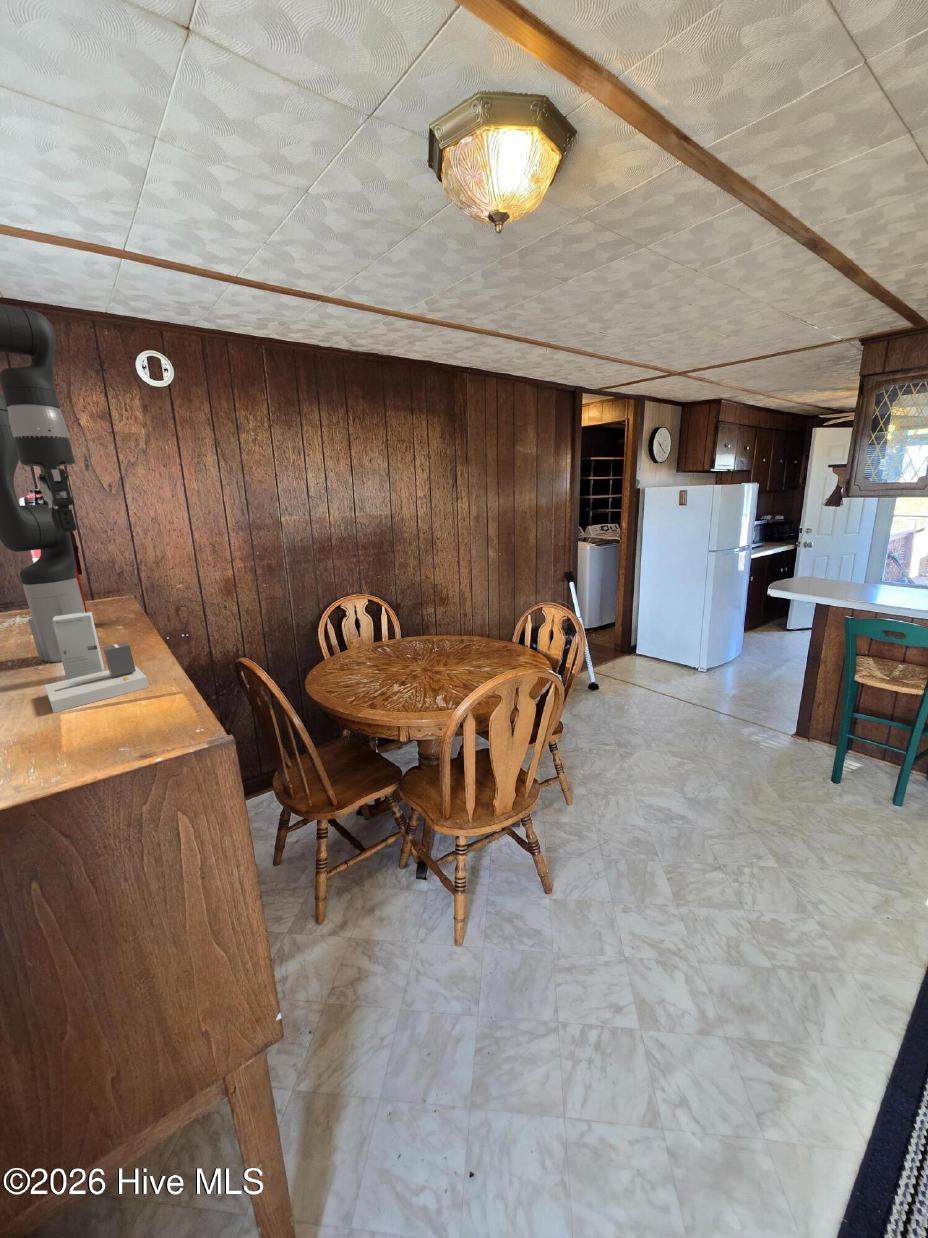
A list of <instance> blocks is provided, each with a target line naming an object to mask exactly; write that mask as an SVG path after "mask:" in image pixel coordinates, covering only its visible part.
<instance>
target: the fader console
mask: <svg viewBox="0 0 928 1238" xmlns="http://www.w3.org/2000/svg"><path fill="white" fill-rule="evenodd" d="M134 666H135V670H136V671H135V672H131V673H127V674H123V675H119V676H115V677H112V676H111V674H110V673H109V669H107V670H103V671H102V672H98V673H94V674H89V675H85V676H81V677H77V678H73V679H68V680H67V679H65V680H61V681H57V682H52V683H49V684H44V687H45V692H46V694H47V699H48V701H49V704H50V707H51V709H52V713H53V714H54V713H58V712H62V711H65V710H70V709H74V708H77V707H78V708H79V707H80V706H85V705H88V704H91V703H96V702H100V701H102V700H106V699H107V700H108V699H111V698H115V697H119V696H121V695H124V694H128V693H133V692H137V691H140V690H144V689H148V688H150V685H149V682H148V681H149V680H148V676H146V675H145V674H144V673H143V671H141V669H140V668H138V666H137V665H136V664H134Z"/></svg>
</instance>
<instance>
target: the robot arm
mask: <svg viewBox="0 0 928 1238" xmlns="http://www.w3.org/2000/svg"><path fill="white" fill-rule="evenodd" d="M55 351H56V332H55V329H54V327H53V325H52V324H51V322H50V321H49V319H47V317H46V316H44V314H42V313H41V312H38V311H37V310H32V309H30V308H29V309H28V308H23V307H18V306H12V305H7V304H2V303H0V353H7V354H14V355H21V356H29V357H30V358H31V363H30V364H29V365H28V366H23V367H22V366H18V367H17V366H16V367H8V368H4V369H2V370H1V371H0V386H1V390H2V393H1V392H0V542H1V544H2V545H3V546H4V547H5V548H6V549H8V550H10V551H11V552H28V551H39V550H40V555H39V558H38V559H37V560H36V561H35V562H33V563H32V564H31V565H28V566H26V567H24V568H23V569H21V570H20V572H19V578H20V581H21V584H22V587H23V590H24V594H25V595H24V596H25V598H26V601H27V604H28V608H29V611H30V615H31V617H29V618H28V624H29V627H30V628H29V629H30V631H31V635H32V638H33V642H34V645H35V648H36V652H37V655H38V659H39V661H45V662H47V661H48V663H49V662H51V663H53V662H54V663H55V662H62V659H61V655H60V651H59V647H58V643H57V639H56V635H55V630H54V627H53V623H52V620H53V618H54V617H55V616H61V615H68V614H75V613H84V612H86V609H85V605H84V601H83V598H82V593H81V590H80V585H79V581H78V579H77V575H76V557H75V552H74V548H73V543H72V538H71V536H72V535H71V532H76V531H77V530H78V529H77V524H76V521H75V518H74V517H75V516H74V514H73V507H74V506H73V503H74V500H73V498H72V496H73V495H72V491H71V489H70V482H69V481H70V480H69V478H68V475H67V473H66V471H65V470H64V468H61V467H63V466H64V467H66V466H73V465H74V464H75V463H76V462H75V461H76V460H75V457H74V456H75V455H74V452H73V448H72V443H71V440H70V435H69V432H68V428H67V423H66V421H65V418H64V416H63V414H62V411H61V407H60V404H59V398H58V395H57V391H56V386H55V374H54V369H55V368H54V362H55V353H56V352H55ZM19 463H20V464H22V465H23V466H27V467H37V468H39V469H40V473H39V474H38V476H37V477H36V478H37V483H38V485H39V487H40V490H41V495H42V497H43V500H44V501H45V504H25V505H24V504H23V505H21V504H20V503H19V500H18V498H17V493H16V490H15V481H14V479H15V473H16V470H17V467H18V465H19ZM60 466H61V467H60Z"/></svg>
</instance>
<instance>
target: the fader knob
mask: <svg viewBox="0 0 928 1238" xmlns="http://www.w3.org/2000/svg"><path fill="white" fill-rule="evenodd" d="M102 649H103V653H104V657H105V661H106V664H107V670H109V673H110V674H111V676H112V677H115V676H119V675H123V674H127V673H131V672H135V671H136V670H135V666H136V665H135V663H134V662H135V661H134V657H133V654H132V650H131V646H130V644H129V643H128V642H122V643H116V644H112V645H109V646H103V647H102ZM134 665H135V666H134Z"/></svg>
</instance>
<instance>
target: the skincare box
mask: <svg viewBox="0 0 928 1238" xmlns="http://www.w3.org/2000/svg"><path fill="white" fill-rule="evenodd" d="M52 623H53V627H54V630H55V635H56V639H57V643H58V647H59V651H60V655H61V659H62V661H61V662H62V666H63V671H64V674H65V680H68V679H73V678H77V677H81V676H85V675H89V674H94V673H98V672H102V671H105V664H104V661H103V657H102V652H101V647H100V643H99V640H98V633H97V631H96V626H95V622H94V616H93V612H92V611H85V612H84V613H75V614H68V615H61V616H55V617H54V618H53V620H52Z"/></svg>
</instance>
